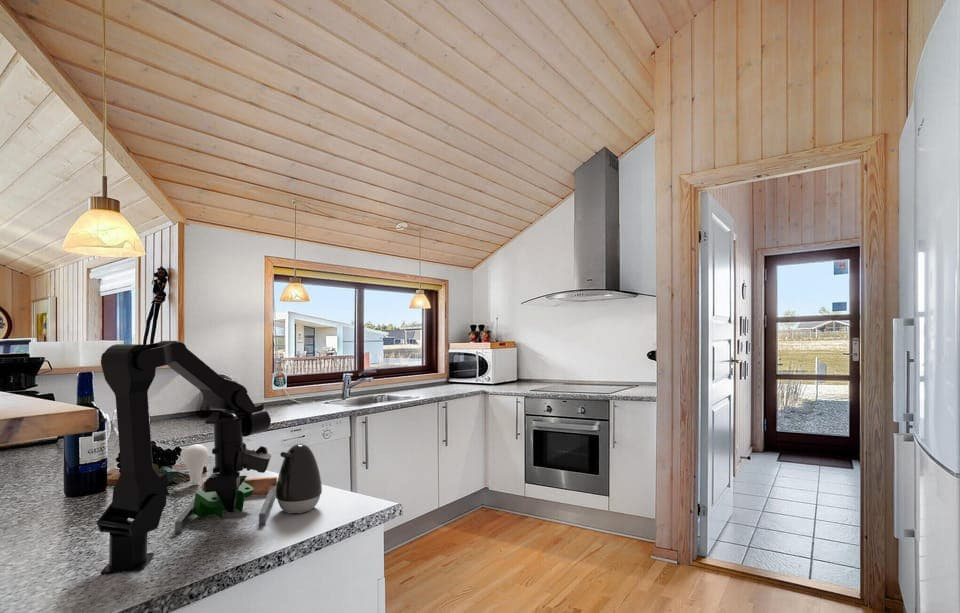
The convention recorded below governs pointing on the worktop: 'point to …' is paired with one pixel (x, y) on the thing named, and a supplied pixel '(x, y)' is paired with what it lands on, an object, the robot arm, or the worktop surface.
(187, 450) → the lightbulb
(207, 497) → the clamp
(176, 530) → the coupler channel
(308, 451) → the pump dispenser
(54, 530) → the worktop surface
